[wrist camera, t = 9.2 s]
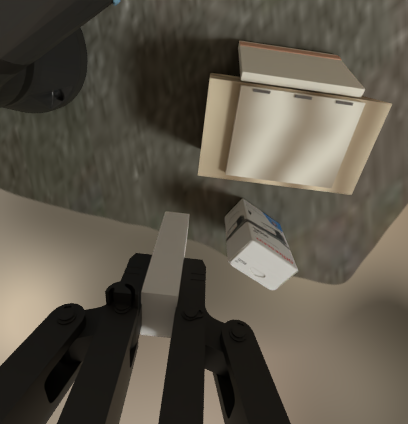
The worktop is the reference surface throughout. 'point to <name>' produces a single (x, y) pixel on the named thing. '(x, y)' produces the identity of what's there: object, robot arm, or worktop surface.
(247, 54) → the stub
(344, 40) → the worktop surface
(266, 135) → the ticket block
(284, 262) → the ink box
